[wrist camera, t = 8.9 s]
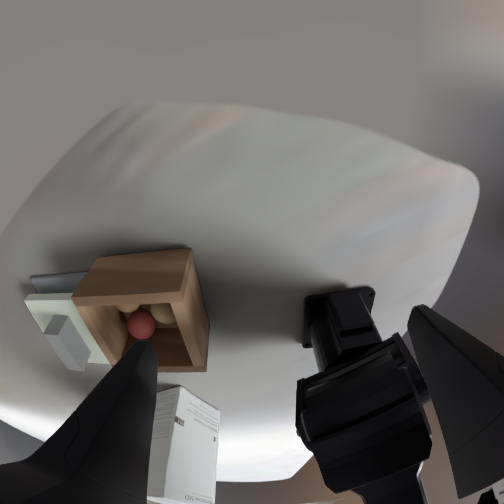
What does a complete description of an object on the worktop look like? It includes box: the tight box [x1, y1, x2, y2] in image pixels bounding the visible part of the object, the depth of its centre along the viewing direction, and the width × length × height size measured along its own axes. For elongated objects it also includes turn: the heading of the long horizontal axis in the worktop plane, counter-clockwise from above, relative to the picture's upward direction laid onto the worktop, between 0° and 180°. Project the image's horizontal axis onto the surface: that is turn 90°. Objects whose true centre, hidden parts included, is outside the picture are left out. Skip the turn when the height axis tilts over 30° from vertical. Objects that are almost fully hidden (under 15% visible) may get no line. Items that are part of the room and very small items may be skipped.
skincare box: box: [147, 386, 220, 504], centre depth 26 cm, size 8×6×15 cm
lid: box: [24, 293, 110, 372], centre depth 22 cm, size 9×9×4 cm
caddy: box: [71, 248, 210, 372], centre depth 20 cm, size 8×8×5 cm
